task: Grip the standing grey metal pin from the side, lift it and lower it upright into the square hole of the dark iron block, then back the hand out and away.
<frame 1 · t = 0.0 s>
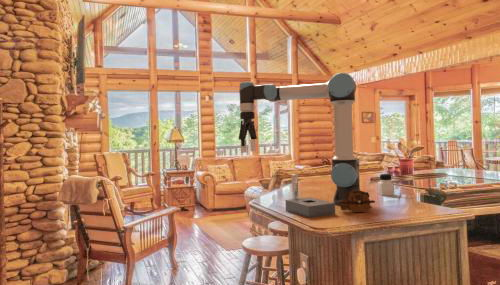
hand: (248, 151, 198), 28 cm above the table, tool pointing down, fingers open, 13 cm apart
pin: (295, 205, 192), on the table
pin block: (309, 212, 175), on the table
medicine bottle: (386, 195, 217), on the table
wooden carving: (357, 212, 171), on the table
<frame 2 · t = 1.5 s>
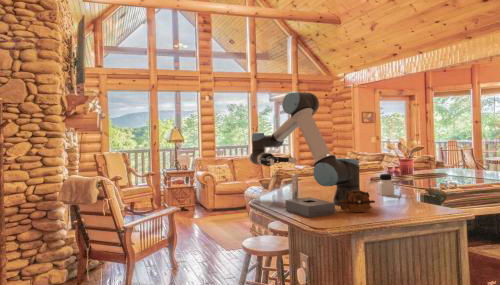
hand: (284, 161, 200), 22 cm above the table, tool horizontal, fingers open, 13 cm apart
nothing on the table moved.
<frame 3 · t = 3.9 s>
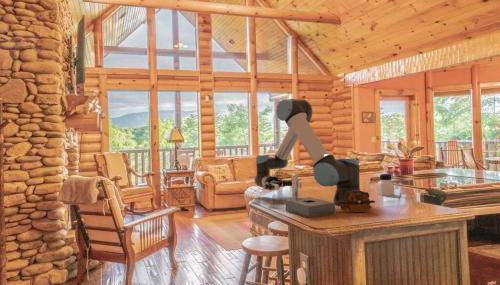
hand: (289, 186, 196), 9 cm above the table, tool horizontal, fingers open, 13 cm apart
nothing on the table moved.
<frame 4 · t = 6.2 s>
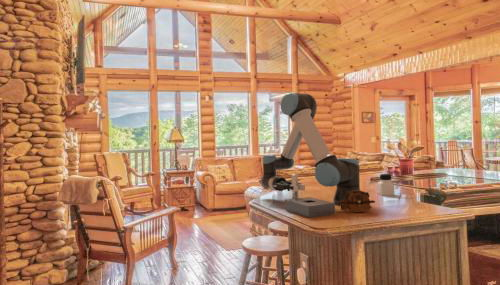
hand: (300, 188, 187), 10 cm above the table, tool horizontal, fingers closed on pin, 3 cm apart
pin: (295, 205, 192), on the table, touching gripper
everything else where it was.
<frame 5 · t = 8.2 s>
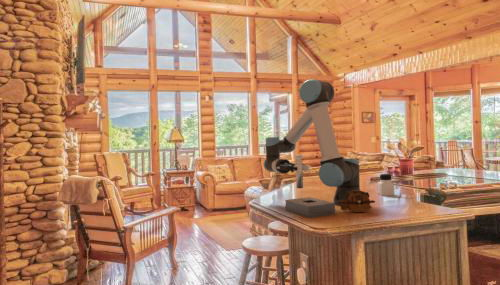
hand: (305, 168, 177), 20 cm above the table, tool horizontal, fingers closed on pin, 3 cm apart
pin: (299, 187, 182), point 10 cm above the table, touching gripper
everything else where it was.
when the fingers open (12 cm above the table, at t = 10.4 s): pin drops 1 cm, resting on pin block.
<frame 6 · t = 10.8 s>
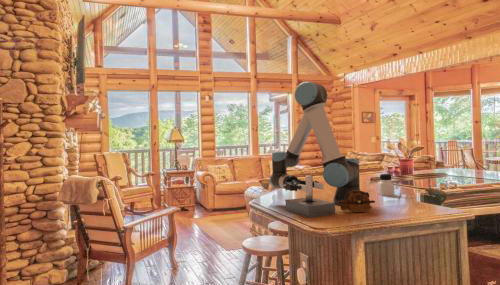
hand: (314, 187, 171), 12 cm above the table, tool horizontal, fingers open, 8 cm apart
pin: (309, 209, 175), point 1 cm above the table, touching pin block
everything else where it was.
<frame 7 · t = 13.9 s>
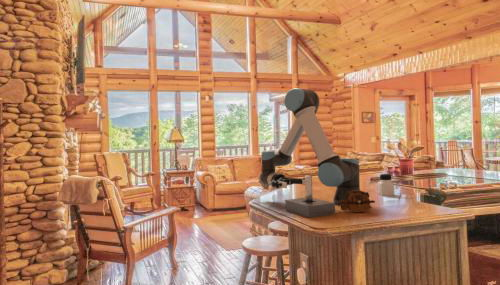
hand: (298, 184, 183), 12 cm above the table, tool horizontal, fingers open, 13 cm apart
nothing on the table moved.
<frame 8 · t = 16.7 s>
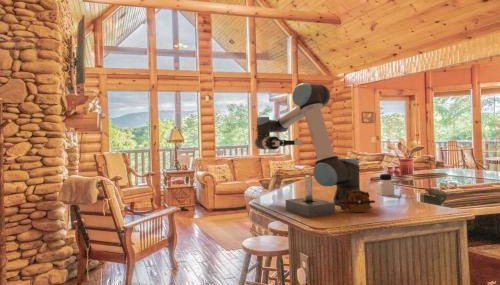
hand: (290, 143, 196), 32 cm above the table, tool horizontal, fingers open, 13 cm apart
nothing on the table moved.
at the end: pin 0.1 cm off-centre on the pin block, point 1.0 cm above the pin block's base; pin tilted 0°; the gripper is holding nothing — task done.
